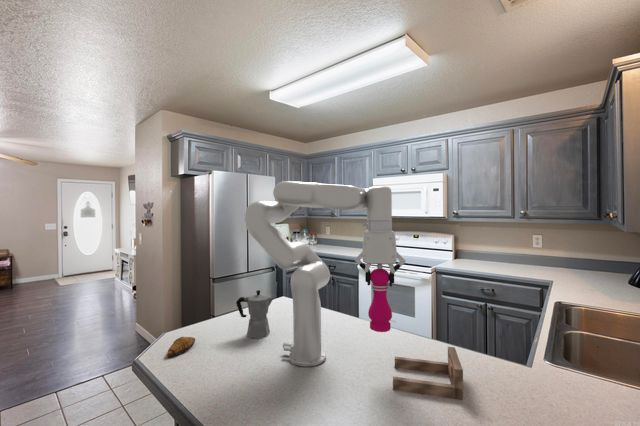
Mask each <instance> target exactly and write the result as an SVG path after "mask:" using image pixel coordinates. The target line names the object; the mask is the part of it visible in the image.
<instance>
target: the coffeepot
mask: <svg viewBox="0 0 640 426" xmlns="http://www.w3.org/2000/svg"><path fill="white" fill-rule="evenodd" d="M255 293H256V294H254V295H250V296H241V297H239V298H238V299H237V300H236V307H237V309H238V312H239V315H240V318H246V317H247V315H248V314H249V320H248V325H247V331H246V335H247V337H249V338H251V339H263V338H265V337H267V336H269V335H270V333H271V331H270V325H269V319H268V317H267V316H268V313H269V308H270V305H271V303H273V300H275V297H274V296H272V295H267V294H261V290H259V289H258V290H256V291H255ZM242 303H247V304H246V305H247V308H248V314H245V313H244V310H243V308H242V307H243V306H242Z"/></svg>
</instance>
